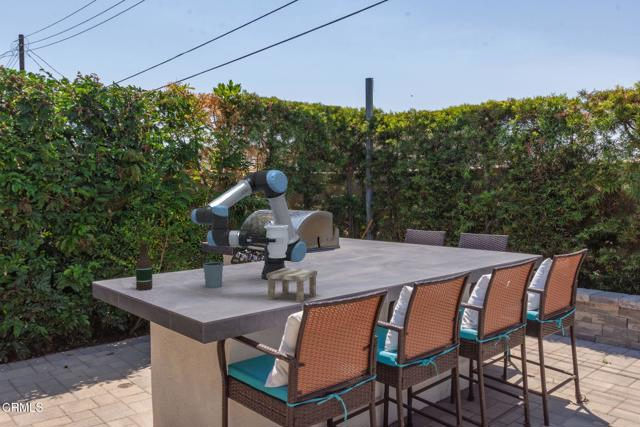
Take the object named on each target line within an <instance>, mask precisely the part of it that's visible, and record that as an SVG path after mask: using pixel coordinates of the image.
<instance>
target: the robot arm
mask: <svg viewBox="0 0 640 427" xmlns="http://www.w3.org/2000/svg"><path fill="white" fill-rule="evenodd" d="M288 185H289V184H288V179H287V177H286V175H285V174H284V172H283V171H281V170H275V169H270V170H269V169H268V170H256V171H253V172H251V173H249V174H247V175H245V176H244V177H242V178H241V179H239V180H238V181H237V184H235V185H234V186H232V187H231V188H230V189H228V190H227V191H225V192H224V193H222V194H221V195H219V196H218V197H217V198H214V199H213V200H211V201H210V202H209V203H208V204H205V206H204V205H203V207H201V208H195V209H193V210H192V211H191V215H190V218H191V221H192V222H193V223H194V224H196V225H207V226H208V225H210V226H211V230H209V231H208V232H207V235H206V243H207V245H209V246H210V247H232V248H236V247H240V248H242V247H243V248H246V247H247V248H248V247H249V246H250V244H259V245H260V244H263V245H264V246H263V252H264V254H263V255H264V258H263V260H264V261H263V262H264V265H263V268H262V271H261V277H260V278H261V279H263V280H268V278H267V274H268V273H271V272H274V271H277V270H280V269H283V268H287V267H286V264H285V262H290V263H300V262H302V261H303V260H304V259H305V257H306V254H307V249H308V248H307V245H306V242H304V241H302V240H301V238H300V235H298V234H296V232H295V228H294V224H293V222H292V219H291V215H290V212H289V211H290V210H289V208H288V205H287V200H286V198H285V195H286V193H287V189H288ZM255 193H263V195H264V198H265V199H266V200H268V202H269V205H270V209H271V211H272V215H273V220H274V222H275V225H288V228H287V231H288V245H287V250H286V253H285V255H286V257H285V258H269V257H268V256H269V252H268V249H267V245H269V243H271V244H284V238H275V237H269V238H266V234H256V233H255V234H250V231H249V230H229V208H230V207H233V205H235V204H236V203H237V202H239V201H240V200H242V199H244V198H245V197H250V196H251V195H252V194H255ZM276 280H278V281H279V279H275V281H276Z"/></svg>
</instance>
